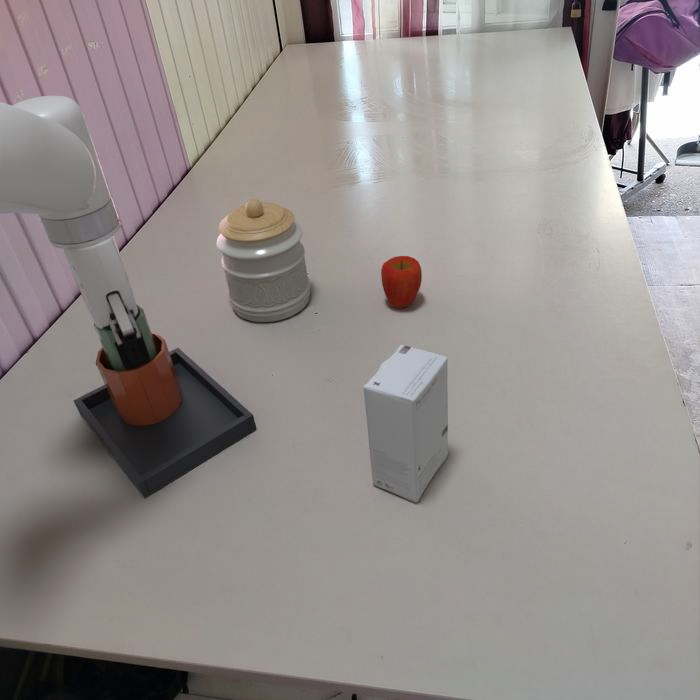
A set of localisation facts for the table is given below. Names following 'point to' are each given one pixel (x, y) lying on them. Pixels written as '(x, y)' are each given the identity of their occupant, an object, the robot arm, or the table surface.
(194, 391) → the tray
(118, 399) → the terracotta cup
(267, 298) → the jar
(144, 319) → the sage cup
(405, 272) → the apple
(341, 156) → the table surface
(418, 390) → the cosmetic box
